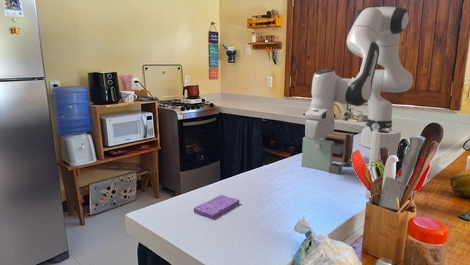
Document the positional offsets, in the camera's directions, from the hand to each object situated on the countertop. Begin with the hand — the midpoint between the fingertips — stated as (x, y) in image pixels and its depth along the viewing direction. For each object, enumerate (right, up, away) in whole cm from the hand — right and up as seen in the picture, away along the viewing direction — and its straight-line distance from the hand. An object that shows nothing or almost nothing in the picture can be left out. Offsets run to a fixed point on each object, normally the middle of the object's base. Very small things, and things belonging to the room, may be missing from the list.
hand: (319, 146), depth 124 cm
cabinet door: (+1, -9, +1) cm, 9 cm away
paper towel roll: (+11, -15, -26) cm, 32 cm away
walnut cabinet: (+11, -6, +14) cm, 19 cm away
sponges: (-39, -17, -33) cm, 54 cm away
